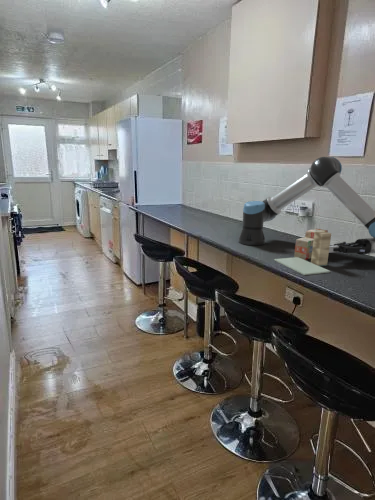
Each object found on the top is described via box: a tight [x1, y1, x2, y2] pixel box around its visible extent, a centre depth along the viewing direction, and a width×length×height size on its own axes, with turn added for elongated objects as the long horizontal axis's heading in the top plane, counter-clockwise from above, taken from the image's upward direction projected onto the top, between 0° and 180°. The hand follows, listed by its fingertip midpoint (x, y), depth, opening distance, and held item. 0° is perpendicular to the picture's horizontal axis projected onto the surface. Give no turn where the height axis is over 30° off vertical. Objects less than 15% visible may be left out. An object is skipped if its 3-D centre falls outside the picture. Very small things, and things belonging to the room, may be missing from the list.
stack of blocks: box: [293, 228, 329, 261], centre depth 165 cm, size 21×6×12 cm, turn 134°
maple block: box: [310, 231, 332, 267], centre depth 149 cm, size 5×5×15 cm
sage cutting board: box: [273, 256, 331, 276], centre depth 148 cm, size 22×14×1 cm, turn 19°
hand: (326, 249), depth 150 cm, fingers closed
